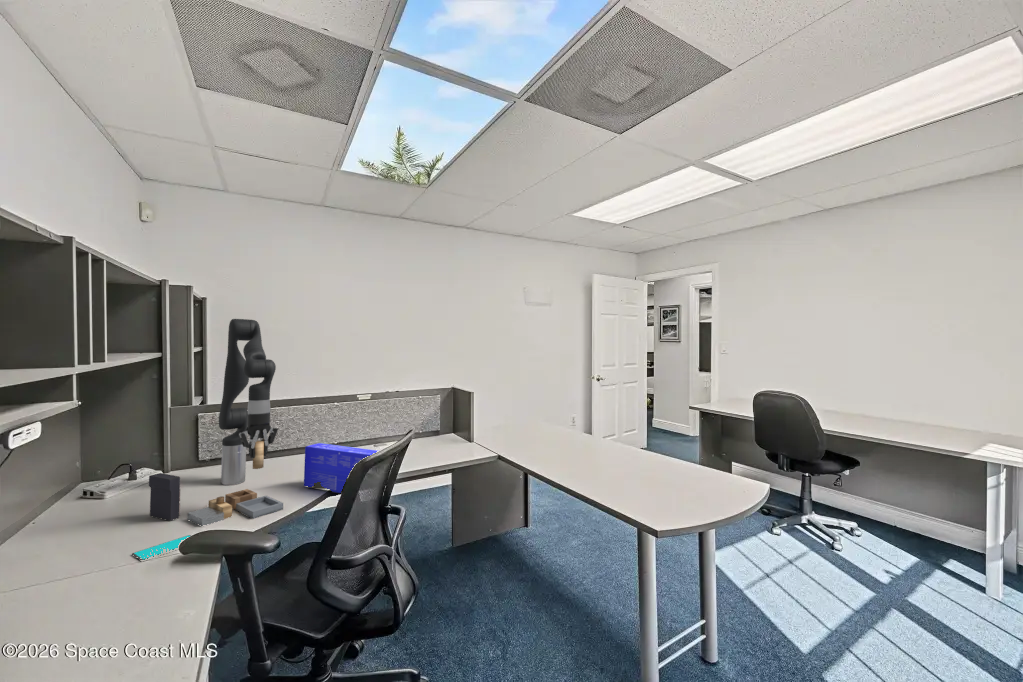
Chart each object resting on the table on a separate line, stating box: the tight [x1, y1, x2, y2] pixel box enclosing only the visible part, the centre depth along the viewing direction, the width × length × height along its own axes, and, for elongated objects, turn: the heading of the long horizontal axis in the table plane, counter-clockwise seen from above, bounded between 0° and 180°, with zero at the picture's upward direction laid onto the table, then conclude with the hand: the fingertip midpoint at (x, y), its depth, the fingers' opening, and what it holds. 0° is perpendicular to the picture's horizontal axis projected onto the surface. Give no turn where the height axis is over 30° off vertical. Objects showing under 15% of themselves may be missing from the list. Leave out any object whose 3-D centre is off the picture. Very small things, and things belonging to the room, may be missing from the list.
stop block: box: [207, 496, 233, 520], centre depth 158 cm, size 12×3×6 cm, turn 56°
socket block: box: [224, 488, 258, 510], centre depth 168 cm, size 8×8×4 cm
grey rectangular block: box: [186, 506, 225, 527], centre depth 153 cm, size 10×7×3 cm
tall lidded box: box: [148, 472, 181, 521], centre depth 154 cm, size 11×4×15 cm, turn 71°
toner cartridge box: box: [303, 442, 379, 494], centre depth 186 cm, size 39×8×18 cm, turn 69°
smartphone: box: [131, 534, 192, 560], centre depth 132 cm, size 7×1×15 cm
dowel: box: [252, 439, 265, 470], centre depth 163 cm, size 4×4×10 cm
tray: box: [235, 495, 284, 520], centre depth 163 cm, size 13×11×2 cm
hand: (258, 456), depth 163 cm, fingers closed on dowel, 3 cm apart
